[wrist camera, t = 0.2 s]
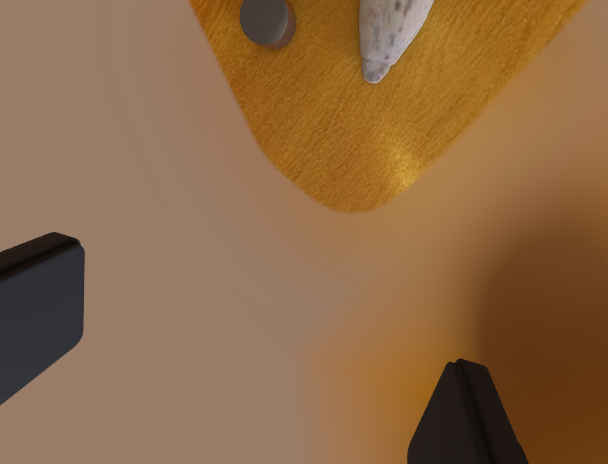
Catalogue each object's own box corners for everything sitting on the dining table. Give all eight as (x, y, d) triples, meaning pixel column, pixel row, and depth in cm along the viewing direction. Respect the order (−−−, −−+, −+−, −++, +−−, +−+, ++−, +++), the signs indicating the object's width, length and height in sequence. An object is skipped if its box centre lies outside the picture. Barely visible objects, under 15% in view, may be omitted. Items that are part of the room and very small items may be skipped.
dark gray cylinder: (277, -15, 34) (267, -26, 31) (304, 27, 35) (298, 21, 32) (241, 19, 35) (229, 12, 33) (269, 59, 36) (260, 55, 33)
